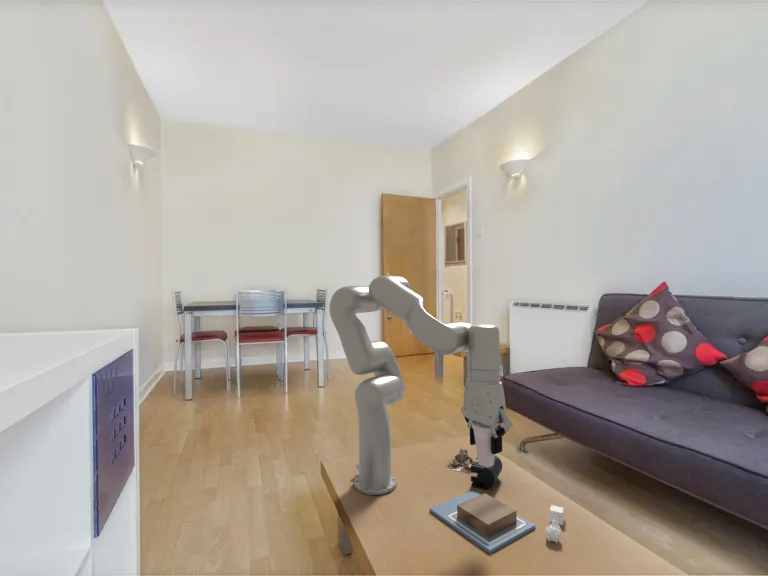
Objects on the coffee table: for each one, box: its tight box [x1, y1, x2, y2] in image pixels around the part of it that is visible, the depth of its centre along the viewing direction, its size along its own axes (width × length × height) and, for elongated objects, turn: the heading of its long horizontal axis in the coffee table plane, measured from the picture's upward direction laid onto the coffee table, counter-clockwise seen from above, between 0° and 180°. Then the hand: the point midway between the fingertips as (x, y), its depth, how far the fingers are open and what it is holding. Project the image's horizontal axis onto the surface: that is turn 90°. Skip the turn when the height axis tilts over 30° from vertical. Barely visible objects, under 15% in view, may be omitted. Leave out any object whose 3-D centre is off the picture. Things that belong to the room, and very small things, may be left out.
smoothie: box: [472, 421, 498, 467], centre depth 96 cm, size 6×6×14 cm
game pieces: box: [544, 504, 565, 545], centre depth 93 cm, size 12×3×3 cm, turn 151°
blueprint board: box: [429, 490, 536, 555], centre depth 97 cm, size 20×16×1 cm
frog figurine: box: [448, 448, 475, 474], centre depth 129 cm, size 12×12×4 cm
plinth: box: [457, 493, 518, 538], centre depth 96 cm, size 10×10×3 cm
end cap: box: [470, 455, 503, 491], centre depth 116 cm, size 10×7×7 cm
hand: (485, 447), depth 96 cm, fingers closed on smoothie, 6 cm apart
